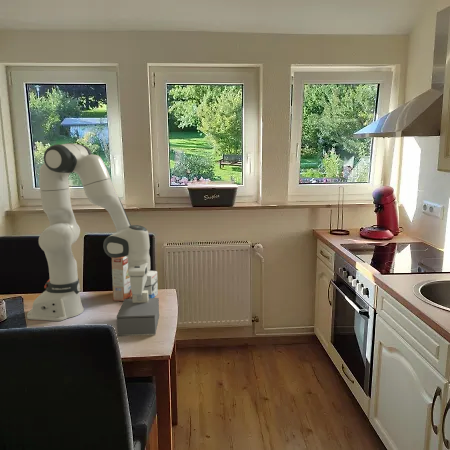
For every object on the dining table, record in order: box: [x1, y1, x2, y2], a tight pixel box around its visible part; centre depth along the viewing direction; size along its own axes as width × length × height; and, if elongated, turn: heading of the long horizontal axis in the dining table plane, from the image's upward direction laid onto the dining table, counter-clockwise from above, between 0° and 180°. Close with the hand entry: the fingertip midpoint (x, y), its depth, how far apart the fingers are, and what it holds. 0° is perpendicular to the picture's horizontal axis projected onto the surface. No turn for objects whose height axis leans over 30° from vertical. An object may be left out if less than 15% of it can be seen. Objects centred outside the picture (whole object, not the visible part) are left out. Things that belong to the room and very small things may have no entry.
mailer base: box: [116, 300, 160, 337], centre depth 164 cm, size 14×18×7 cm
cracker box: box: [111, 256, 132, 302], centre depth 195 cm, size 14×6×21 cm, turn 170°
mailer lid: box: [116, 290, 159, 319], centre depth 163 cm, size 14×18×5 cm
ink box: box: [144, 270, 159, 298], centre depth 195 cm, size 8×5×12 cm, turn 168°
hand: (140, 298), depth 169 cm, fingers closed on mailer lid, 3 cm apart
